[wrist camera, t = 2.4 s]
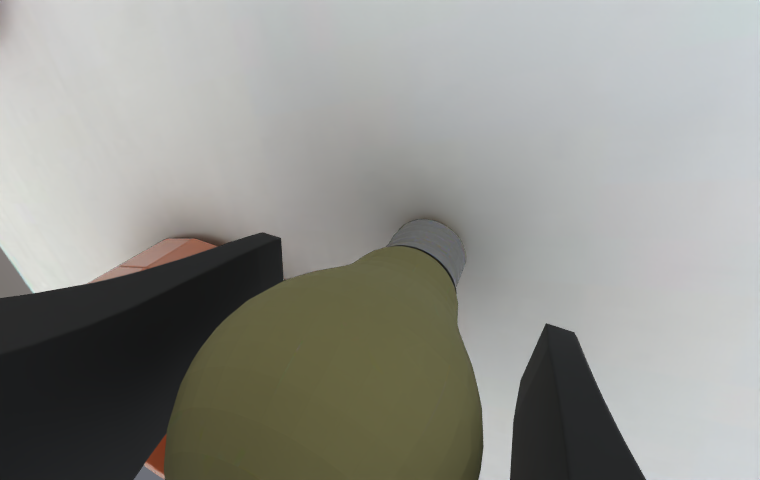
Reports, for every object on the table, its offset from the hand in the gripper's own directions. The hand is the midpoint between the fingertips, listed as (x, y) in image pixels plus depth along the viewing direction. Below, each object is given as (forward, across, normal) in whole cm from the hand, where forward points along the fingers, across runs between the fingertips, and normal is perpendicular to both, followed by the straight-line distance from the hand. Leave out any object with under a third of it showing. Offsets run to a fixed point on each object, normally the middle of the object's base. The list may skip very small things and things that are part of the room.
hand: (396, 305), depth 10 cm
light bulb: (+4, 0, 0) cm, 4 cm away
